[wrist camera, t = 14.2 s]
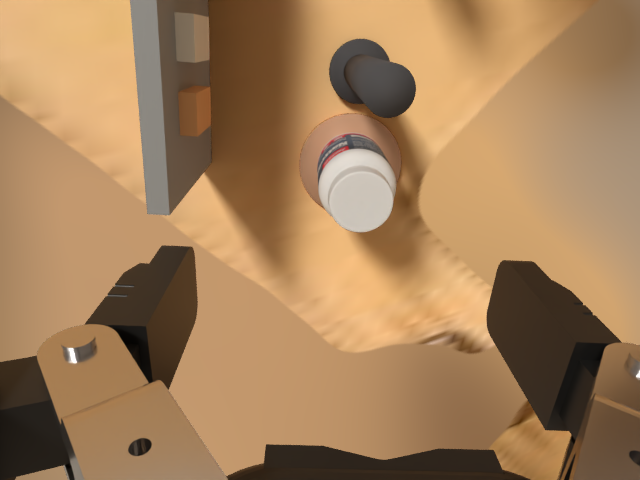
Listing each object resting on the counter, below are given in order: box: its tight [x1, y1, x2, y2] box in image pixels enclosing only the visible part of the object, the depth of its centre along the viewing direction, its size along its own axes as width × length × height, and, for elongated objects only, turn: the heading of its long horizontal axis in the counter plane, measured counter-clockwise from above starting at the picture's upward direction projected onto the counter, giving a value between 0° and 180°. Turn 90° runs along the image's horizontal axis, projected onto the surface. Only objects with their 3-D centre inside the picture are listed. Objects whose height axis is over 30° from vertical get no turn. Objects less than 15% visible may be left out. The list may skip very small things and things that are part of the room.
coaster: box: [300, 113, 401, 207], centre depth 37 cm, size 8×8×1 cm
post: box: [329, 39, 416, 118], centre depth 28 cm, size 4×4×14 cm
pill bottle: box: [317, 133, 396, 232], centre depth 32 cm, size 5×5×9 cm
